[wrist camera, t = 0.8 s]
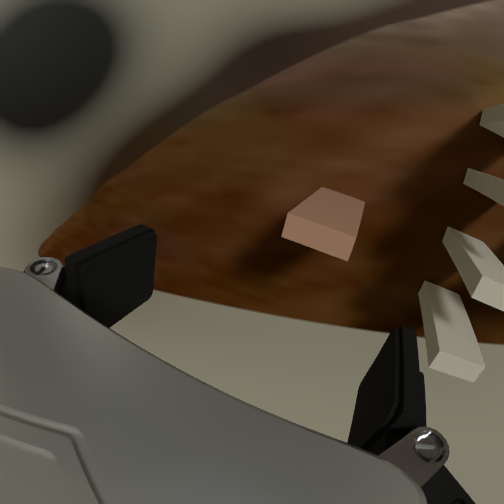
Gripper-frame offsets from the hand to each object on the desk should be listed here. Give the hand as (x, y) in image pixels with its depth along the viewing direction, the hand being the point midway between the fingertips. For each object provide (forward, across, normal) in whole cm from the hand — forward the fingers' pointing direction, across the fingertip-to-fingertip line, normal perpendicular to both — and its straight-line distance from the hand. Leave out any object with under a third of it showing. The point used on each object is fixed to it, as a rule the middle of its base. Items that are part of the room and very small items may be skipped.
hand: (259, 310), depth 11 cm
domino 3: (+21, -14, -1) cm, 25 cm away
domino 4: (+21, -14, +5) cm, 26 cm away
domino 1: (+21, 0, 0) cm, 21 cm away
